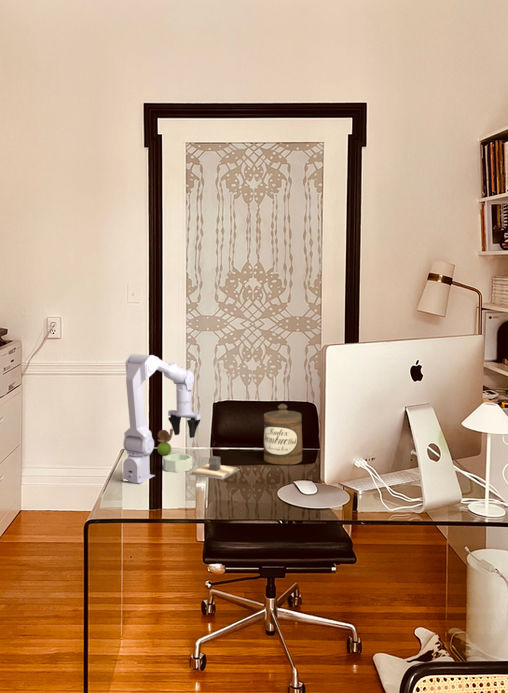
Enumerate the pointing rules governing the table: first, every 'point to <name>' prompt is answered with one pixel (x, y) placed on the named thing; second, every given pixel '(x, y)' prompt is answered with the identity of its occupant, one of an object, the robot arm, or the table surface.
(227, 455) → the table surface
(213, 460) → the lid
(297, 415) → the wooden container
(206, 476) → the mat
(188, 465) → the bowl
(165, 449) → the snail figurine
